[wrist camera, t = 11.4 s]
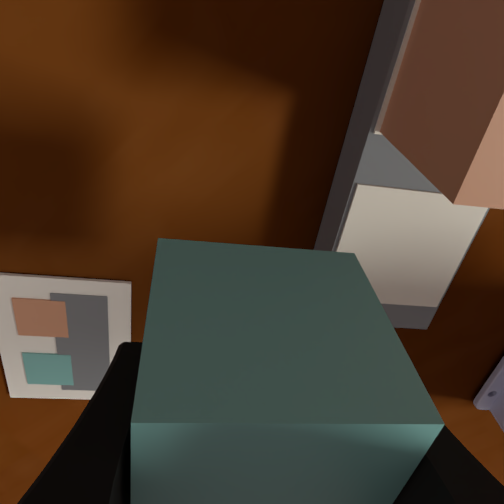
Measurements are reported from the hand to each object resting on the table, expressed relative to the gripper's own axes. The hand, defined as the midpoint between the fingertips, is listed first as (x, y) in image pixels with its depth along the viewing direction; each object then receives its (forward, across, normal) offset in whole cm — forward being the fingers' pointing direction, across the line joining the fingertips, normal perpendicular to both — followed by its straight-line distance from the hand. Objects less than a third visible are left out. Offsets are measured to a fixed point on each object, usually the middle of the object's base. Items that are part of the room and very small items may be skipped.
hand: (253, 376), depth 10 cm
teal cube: (+2, 0, 0) cm, 2 cm away
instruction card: (+8, +7, +8) cm, 14 cm away
